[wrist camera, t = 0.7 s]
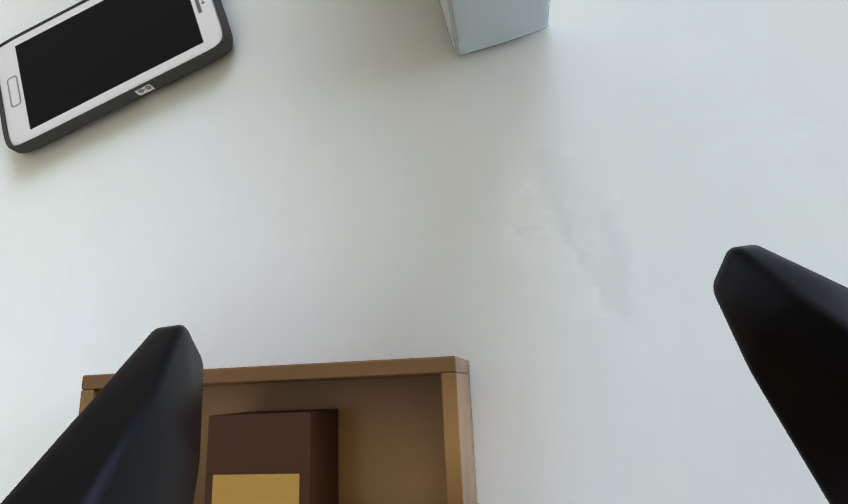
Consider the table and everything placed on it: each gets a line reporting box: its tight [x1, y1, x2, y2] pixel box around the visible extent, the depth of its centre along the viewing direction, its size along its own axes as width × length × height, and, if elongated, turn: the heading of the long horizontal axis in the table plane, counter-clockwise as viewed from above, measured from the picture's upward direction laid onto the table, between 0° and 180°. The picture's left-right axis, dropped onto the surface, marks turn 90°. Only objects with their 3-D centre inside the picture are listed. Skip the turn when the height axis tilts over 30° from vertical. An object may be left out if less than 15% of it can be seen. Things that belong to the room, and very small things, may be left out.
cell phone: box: [0, 0, 233, 153], centre depth 32 cm, size 8×15×1 cm, turn 112°
